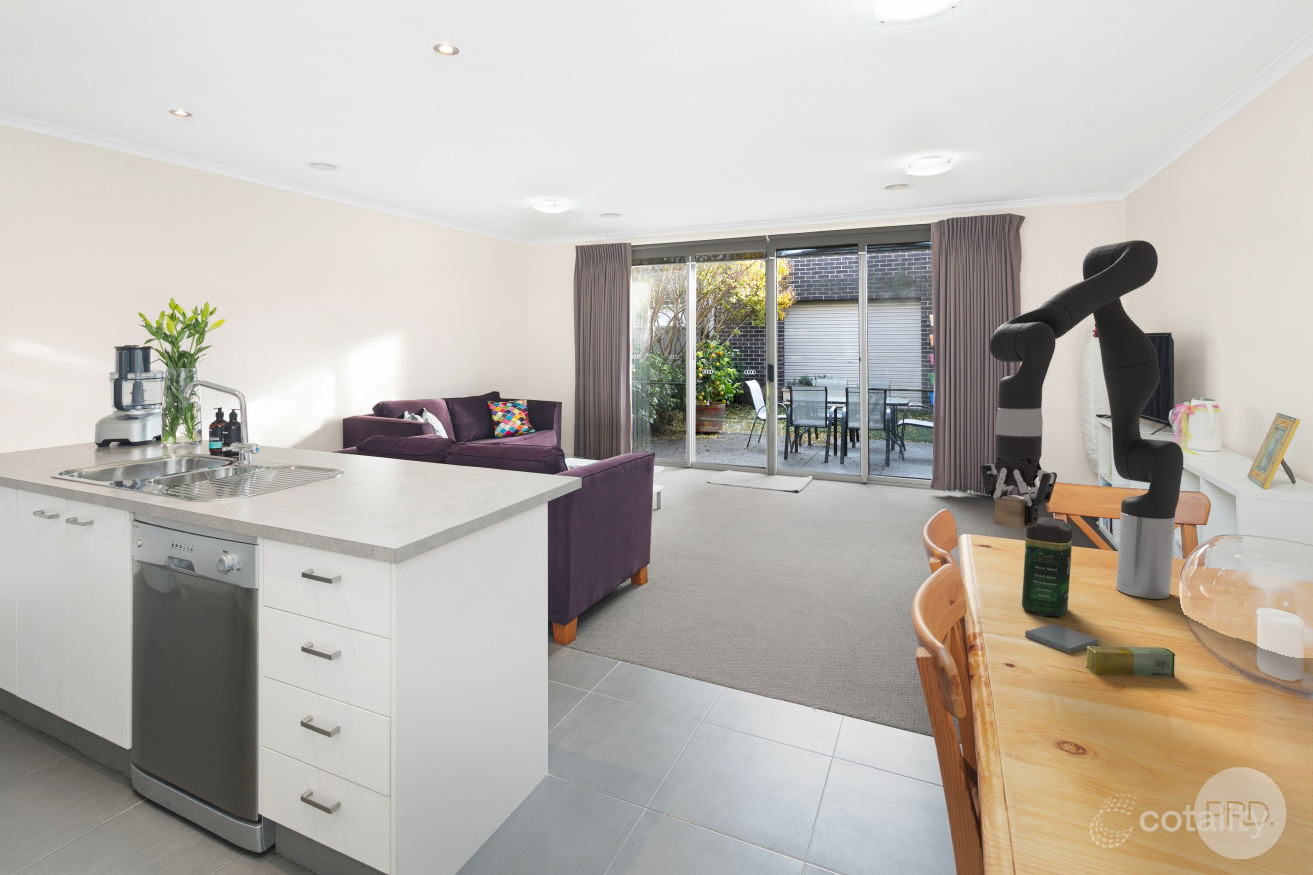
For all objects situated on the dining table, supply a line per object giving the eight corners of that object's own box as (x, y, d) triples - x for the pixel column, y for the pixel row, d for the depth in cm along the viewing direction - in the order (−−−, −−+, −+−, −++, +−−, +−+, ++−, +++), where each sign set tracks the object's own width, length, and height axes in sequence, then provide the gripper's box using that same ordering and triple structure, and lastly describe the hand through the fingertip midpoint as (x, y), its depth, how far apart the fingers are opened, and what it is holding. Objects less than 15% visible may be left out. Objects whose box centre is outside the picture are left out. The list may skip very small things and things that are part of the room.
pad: (1053, 628, 120) (1053, 623, 120) (1098, 644, 113) (1098, 639, 113) (1025, 636, 117) (1025, 631, 117) (1069, 653, 109) (1069, 647, 109)
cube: (1012, 520, 124) (1012, 494, 123) (1036, 525, 119) (1037, 498, 119) (994, 523, 122) (995, 496, 121) (1019, 529, 117) (1020, 501, 117)
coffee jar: (1065, 621, 124) (1070, 526, 122) (1018, 612, 128) (1022, 521, 127) (1070, 606, 131) (1075, 517, 129) (1026, 598, 136) (1030, 512, 134)
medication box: (1164, 670, 103) (1165, 646, 103) (1176, 678, 101) (1177, 653, 100) (1084, 668, 105) (1085, 644, 104) (1094, 675, 102) (1095, 651, 102)
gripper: (1070, 434, 114) (1066, 528, 116) (997, 428, 127) (994, 512, 129) (1042, 437, 111) (1039, 533, 112) (970, 430, 124) (968, 517, 125)
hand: (1015, 521), depth 120 cm, fingers closed on cube, 5 cm apart
